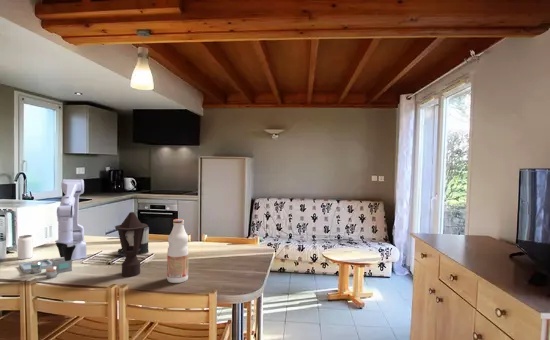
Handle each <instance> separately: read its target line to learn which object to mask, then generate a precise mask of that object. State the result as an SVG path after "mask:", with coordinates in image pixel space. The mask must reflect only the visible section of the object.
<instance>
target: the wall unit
mask: <svg viewBox="0 0 550 340" xmlns="http://www.w3.org/2000/svg"><path fill="white" fill-rule="evenodd" d="M51 262H52V265H57V275H58V274H63V273H68V272H72V271H73V260H72V258H71V260H70V261H65V259H64V257H58V258H52V259H51Z"/></svg>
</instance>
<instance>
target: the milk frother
mask: <svg viewBox="0 0 550 340" xmlns="http://www.w3.org/2000/svg"><path fill="white" fill-rule="evenodd" d="M149 231H150V227H149V226H148V227H146V228H144V232H143V237H142V242H141V246H140V251H139V252H138V254H137V255H145V254H147V253H149V236H150V233H149ZM117 255H119V256H121V257H122V258H123V257H126V256H125V253H123V252H122V248H119V249H117Z"/></svg>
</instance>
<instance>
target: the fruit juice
mask: <svg viewBox="0 0 550 340" xmlns="http://www.w3.org/2000/svg"><path fill="white" fill-rule="evenodd" d="M172 224H173V227H172V230H171V232H170V234H169V235H168V237H167V243H168V248H167V258H166V259H167V261H166V262H167V263H166V264H167V265H166V266H167V267H166V269H167V271H166V279H167V280H166V281H168V282H169V283H173V284H179V283H180V284H181V283H183V282H186V281H188V279H189V246H188V243H189V235H188V233H187V232H186V229H185V226H184V224H185V220H184V219H182V218H175V219H173V221H172Z"/></svg>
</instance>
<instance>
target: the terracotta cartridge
mask: <svg viewBox="0 0 550 340" xmlns="http://www.w3.org/2000/svg"><path fill="white" fill-rule="evenodd" d="M45 274H46V275H45V278H46V279H48V280H50V279H52V280H53V279H56V278H57V277H58V274H57V265H51V266H47V267H46V269H45Z"/></svg>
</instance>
